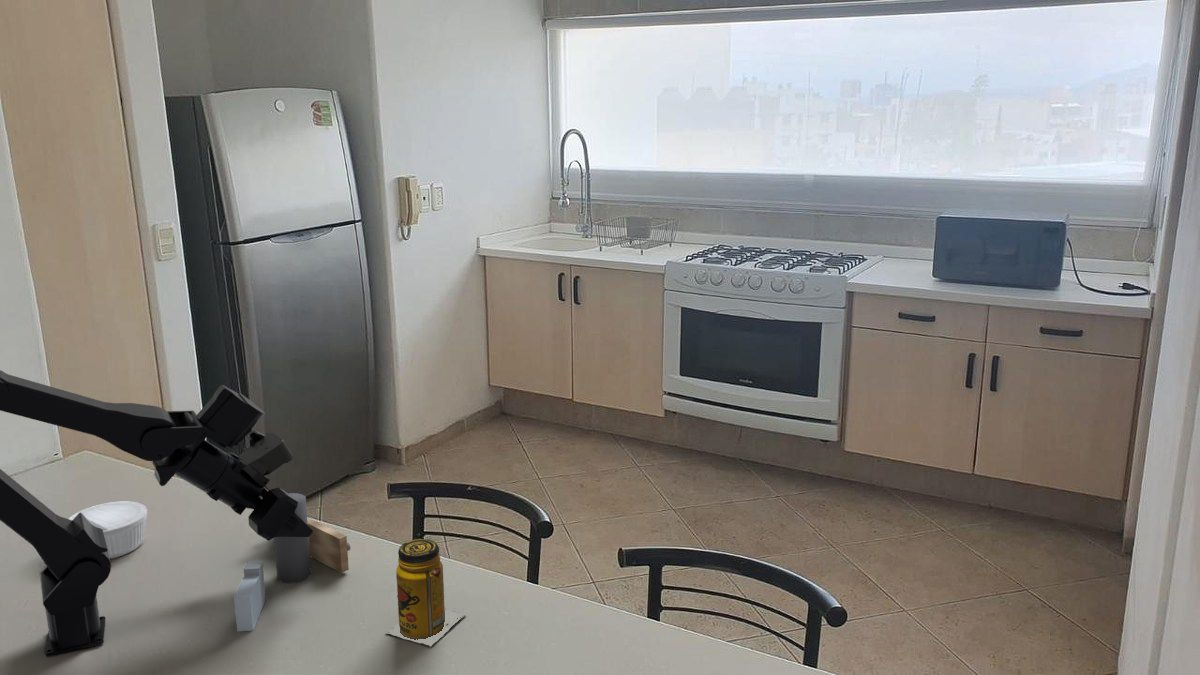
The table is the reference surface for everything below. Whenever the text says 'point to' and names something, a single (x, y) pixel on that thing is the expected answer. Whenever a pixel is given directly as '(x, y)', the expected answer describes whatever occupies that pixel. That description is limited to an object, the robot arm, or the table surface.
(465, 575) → the table surface
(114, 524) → the ramekin
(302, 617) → the table surface
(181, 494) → the table surface
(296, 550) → the gray cylinder
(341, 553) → the door
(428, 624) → the condiment
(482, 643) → the table surface
